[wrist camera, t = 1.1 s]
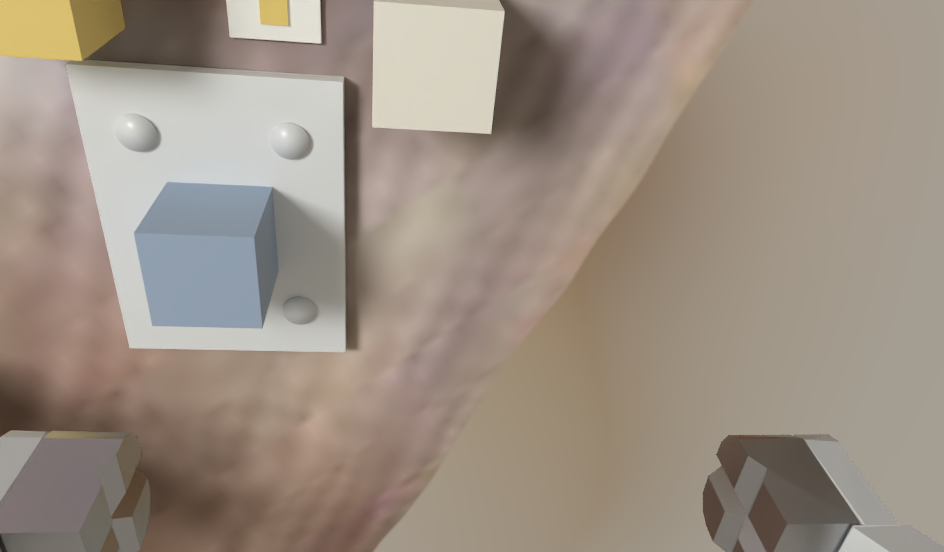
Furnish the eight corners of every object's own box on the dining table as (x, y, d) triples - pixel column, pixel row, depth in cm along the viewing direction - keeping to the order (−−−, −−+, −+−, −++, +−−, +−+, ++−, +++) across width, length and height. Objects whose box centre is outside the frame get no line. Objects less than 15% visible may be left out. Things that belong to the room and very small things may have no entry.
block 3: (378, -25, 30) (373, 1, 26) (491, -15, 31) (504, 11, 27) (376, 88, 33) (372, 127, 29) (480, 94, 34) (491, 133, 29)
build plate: (72, 58, 31) (63, 65, 30) (344, 76, 32) (342, 83, 32) (134, 339, 40) (128, 350, 39) (346, 343, 41) (345, 354, 40)
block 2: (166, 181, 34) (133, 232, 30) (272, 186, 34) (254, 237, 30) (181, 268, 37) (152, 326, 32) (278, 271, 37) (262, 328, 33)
